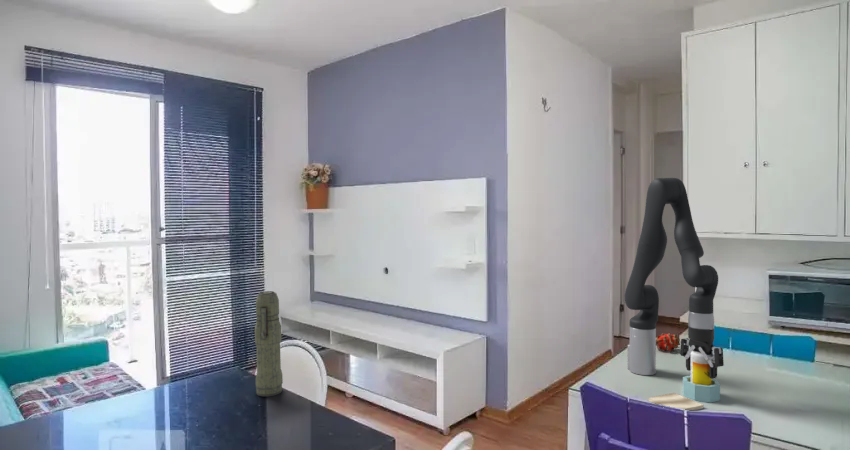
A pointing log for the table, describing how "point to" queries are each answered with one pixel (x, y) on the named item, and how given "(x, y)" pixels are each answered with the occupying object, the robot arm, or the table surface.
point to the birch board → (676, 401)
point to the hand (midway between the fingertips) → (701, 374)
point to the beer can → (700, 369)
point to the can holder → (701, 390)
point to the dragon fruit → (667, 342)
